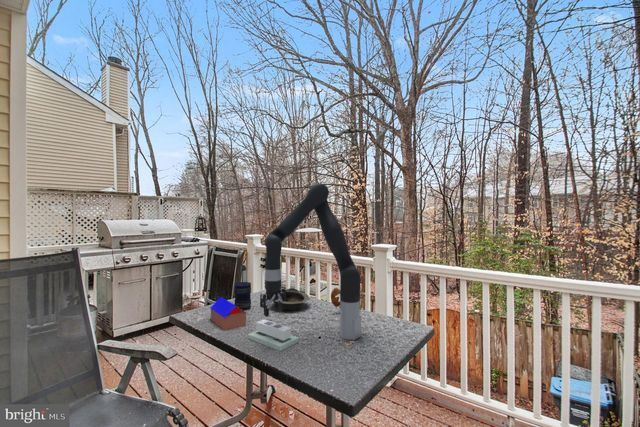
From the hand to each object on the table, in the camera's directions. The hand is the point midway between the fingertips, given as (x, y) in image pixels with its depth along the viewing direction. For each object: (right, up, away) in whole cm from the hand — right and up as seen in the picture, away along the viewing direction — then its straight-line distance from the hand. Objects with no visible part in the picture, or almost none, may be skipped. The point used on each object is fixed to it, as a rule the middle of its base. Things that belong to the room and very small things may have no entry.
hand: (273, 313), depth 145 cm
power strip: (0, -12, 0) cm, 12 cm away
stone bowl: (+2, -12, +50) cm, 51 cm away
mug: (+35, -12, +38) cm, 53 cm away
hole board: (0, -12, 0) cm, 12 cm away
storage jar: (-26, -12, +46) cm, 54 cm away
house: (-28, -12, +23) cm, 38 cm away
